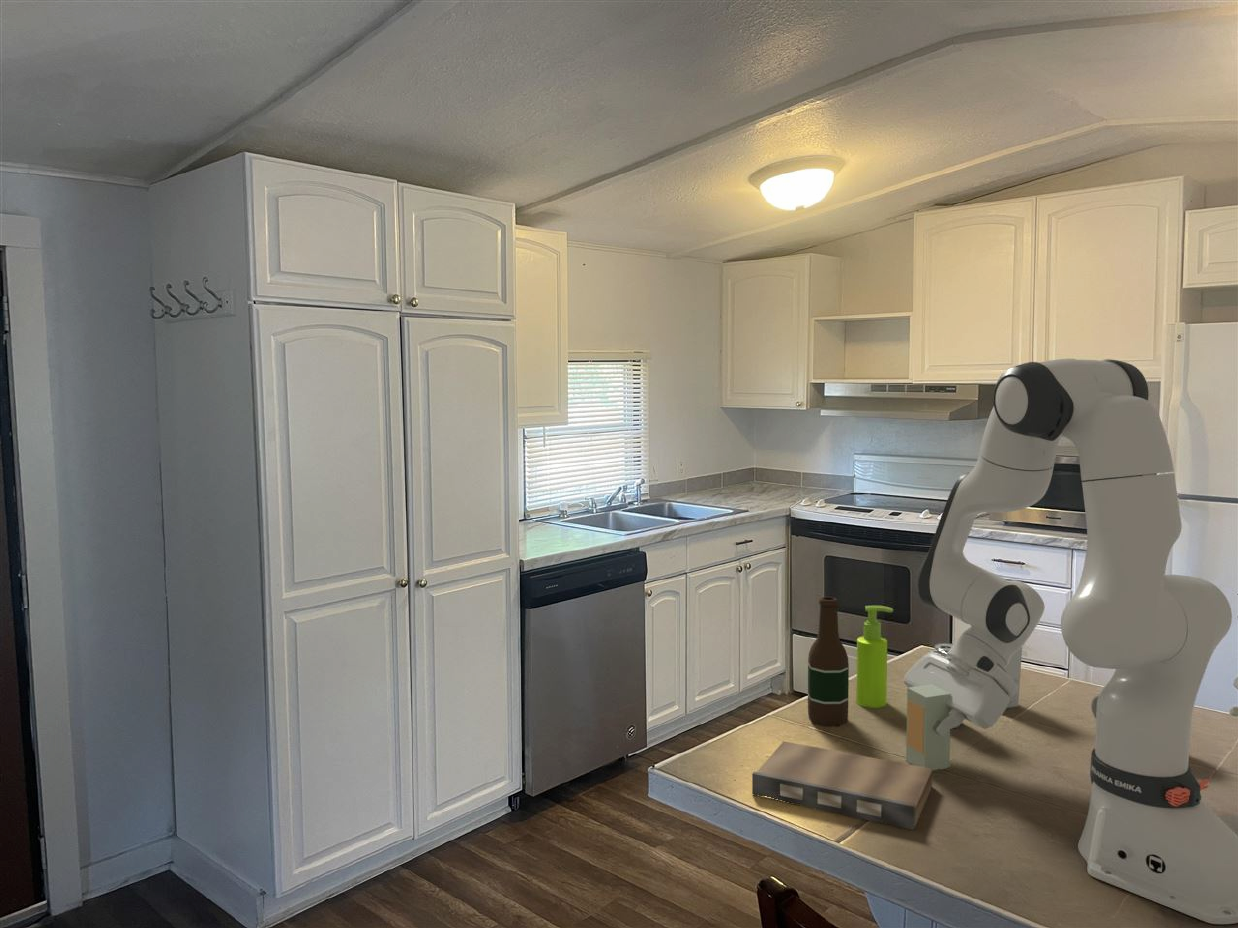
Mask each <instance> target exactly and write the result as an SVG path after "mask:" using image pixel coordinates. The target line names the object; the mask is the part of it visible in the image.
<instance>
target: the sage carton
mask: <svg viewBox="0 0 1238 928" xmlns="http://www.w3.org/2000/svg"><path fill="white" fill-rule="evenodd" d="M906 688H907V689H906V690H907V693H906V695H907V696H906V697H907V698H906V702H907V703H906V743H905V744H906V745H905V746H906V748H905V749H906V752H905V755H906V756H905V760H906V761H907V762H908V764H909V763H910V765H915V766H920V767H926V768H931V769H933V772H935V771H939V770H938V769H940V770H945V769H949V768H950V755H951V754H950V753H951V752H950V751H951V748H950V747H951V729H949V731H948V732H947V733H946V734H945V736H941V735H939V734H938V733H936V732H935V731H934V730H933V726H934V725H935V724H936V722H937V721H938V720H939V721H941V722H942V720H944V719H945V718H947V717H948V716H950V715H949V712H950V711H951V707H949V706H947V704H946V702H947V700H948V699H949V698H950V696H951V693H949V692H947V691H945V690H943V689H941V688H939V687H937V686H935V685H932V684H929V685H923V686H916V687H909V688H908V687H906ZM948 767H949V768H948ZM934 770H935V771H934Z"/></svg>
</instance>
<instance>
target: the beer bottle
mask: <svg viewBox="0 0 1238 928" xmlns="http://www.w3.org/2000/svg"><path fill="white" fill-rule="evenodd" d="M818 604H819V605H820V606H819V619H818V631H817V637H816V639H815V641H814V642H813V643H812V645H811V647H810V650H809V652H808V656H807V657H808V659H807V715H808V717H809V720H810V721H811V724H812V723H813V724H815V725H820V726H822V727H840V726H842V725H844V724H845V723H847V722H848V721H849V692H850V691H849V689H850V688H849V685H850V684H849V683H850V682H849V681H850V680H849V679H850V678H849V677H850V676H849V675H850V674H849V672H850V671H849V669H850V668H849V666H850V665H849V656H848V654H847V651H846V648H845V646H844V645H843V644H842V642H841V640H840V632H839V619H838V618H839V617H838V606H839V600H838V599H837V598H836V597H833V596H823V597H821V598H819V600H818Z"/></svg>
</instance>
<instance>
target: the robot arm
mask: <svg viewBox="0 0 1238 928" xmlns="http://www.w3.org/2000/svg"><path fill="white" fill-rule="evenodd" d="M1149 393H1150V392H1149V386H1148V382H1147V379H1146V377H1145V376H1144V374H1143V372H1141V371H1140V369H1139V368H1137V366H1134V365H1133V364H1130V363H1128V362H1125V361H1122V360H1116V359H1111V358H1110V359H1104V358H1103V359H1101V360H1099V359H1098V360H1096V359H1076V358H1062V359H1061V358H1060V359H1051V360H1045V361H1040V362H1037V361H1029V362H1025V363H1022V364H1021V363H1020V364H1018V365H1015V366H1012V367H1011V368H1009V369H1006V370H1005V371H1004V372H1003V373H1002V374H1001V375H1000V377H999V378H998V380H997V382H996V384H995V386H994V392H993V407H992V409H991V411H990V414H989V416H988V420H987V423H986V426H985V429H984V432H983V435H982V440H981V442H980V447H979V448H980V449H979V454H978V458H977V460H976V463H975V464H974V466H973V468H972V470H970V472H965V473H963V474H962V475H960V476H959V478H958V479H957V480H956V481H955V483H954V485H953V487H952V488H951V490H950V493H949V496H948V498H947V500H946V503H945V505H944V507H943V510H942V513H941V515H940V516H941V517H940V518H939V519H940V520H939V521H938V525H937V526H936V527H937V528H936V530H935V533H934V535H933V539H932V542H931V544H930V547H929V550H928V552H927V554H926V555H925V557H924V560H923V561H922V562H921V564H920V566H919V568H918V571H917V573H916V576H915V577H916V578H915V584H916V590H917V592H918V596H919V599H920V600H921V601H922V603H923V604H925V605H927V606H930V607H932V608H934V609H936V610H939V611H940V612H941V611H942V612H944V613H947V614H948V615H950V616H951V617H954V618H955V619H957V620H958V621H961V622H963V623H965V624H967V625H970V627H968V628H967V629H966V630H965V631H963V632H962V633H961V634H960V636H959V637H958V638H957V639H956V641H955V642H954V643H953V644H954V645H953V646H952V647H951V648H950V650H949V651H948V652H945V651H944V650H942V649H937V650H934V649H933V650H934V651H933V650H930V651H929V652H927V653H926V654H924V655H923V656H922V657H920V658H919V659H918V660H917V662H915V663H914V664H913V665H912V666H911V668H909V670H908V671H907V672H906V673H905V674H904V675H903V684H904V685H905V686H907V687H906V688H909V687H916V686H923V685H929V684H932V685H935V686H937V687H939V688H941V689H943V690H945V691H947V692H949V693H951V696H950V698H949V699H948V700H947V702H946V704H947V706H949V707H951V711H950V712H949V715H950V716H948V717H947V718H945V719H944V720H942V722H941V721H939V720H938V721H937V722H936V724H935V725H934V726H933V730H934V731H935V732H936V733H938V734H939V735H941V736H945V734H946V733H947V732H948V731H949V729H950V730H951V729H955V728H954V727H956V726H958V725H960V726H961V725H962V723H963V722H964V720H966V721H968V722H970V723H971V724H973V725H976V726H978V727H980V728H981V729H983V730H985V729H986V730H987V729H988V728H991V727H993V726H994V725H995V724H996V723H997V722H998V720H999V719H1000V718H1001V717H1002V715H1003V713H1004V712H1005V711H1006V709H1008V708H1007V706H1008V704H1009V701H1010V698H1009V696H1010V697H1013V696H1014V695H1016V693H1017V692H1018V691H1019V692H1020V688H1019V687H1018V686H1017V685H1016V683H1015V682H1014V681H1013V680H1012V679H1011V677H1010V676H1009V675H1008V674H1007V673H1006V671H1005V670H1004V669H1005V668H1006V667H1007V666H1008V664H1009V661H1010V658H1011V657H1012V655H1013V654H1014V653H1015V652H1016V651H1017V650H1019V649H1020V648H1021V647H1022V648H1023V646H1024V645H1025V644H1026V643H1027V641H1028V640H1029V639H1030V637H1031V636H1032V634H1033V632H1034V631H1035V629H1036V627H1037V626H1038V624H1039V622H1040V620H1041V618H1042V616H1043V613H1044V611H1045V602H1044V600H1043V598H1042V597H1041V595H1040V594H1039V593H1038V592H1037V590H1035V589H1034V588H1033V587H1032V586H1030V585H1029V584H1027V583H1025V582H1023V581H1020V580H1018V579H1017V580H1016V579H1012V580H1008V579H1006V578H1004V577H1002V576H999V575H998V574H995V573H993V572H991V571H988V570H986V569H984V568H982V567H980V566H978V565H976V564H974V563H972V562H970V561H968V559H967V558H966V557H965V555H964V549H965V545H966V543H967V541H968V538H969V535H970V532H971V530H972V527H973V525H974V522H975V519H976V517H977V516H978V515H979V514H980V513H1010V512H1017V511H1020V510H1024V509H1027V508H1029V507H1031V506H1033V505H1035V504H1036V503H1038V502H1040V500H1041V499H1043V497H1044V496H1045V495H1046V493H1047V491H1048V489H1049V486H1050V483H1051V480H1052V477H1053V471H1054V466H1055V463H1056V457H1057V451H1058V447H1059V443H1060V440H1061V438H1062V437H1064V438H1066V439H1068V440H1069V441H1071V443H1072V444H1073V445H1074V446H1075V448H1076V449H1077V454H1078V458H1079V467H1080V469H1079V470H1080V479H1081V485H1082V486H1081V487H1082V493H1083V494H1082V496H1083V502H1084V509H1085V510H1084V511H1085V520H1086V521H1085V522H1086V530H1087V533H1086V535H1087V537H1086V539H1087V540H1086V550H1085V551H1086V552H1085V558H1084V563H1083V569H1082V572H1081V576H1080V579H1079V583H1078V586H1077V588H1076V590H1075V592H1074V594H1073V596H1072V597H1071V599H1070V600H1069V601H1068V603H1066V605H1065V607H1064V609H1063V611H1062V613H1061V616H1060V617H1061V618H1060V630H1061V631H1060V632H1061V635H1062V638H1063V641H1064V643H1065V645H1066V647H1067V649H1068V650H1069V651H1070V653H1071V654H1072V655H1073V656H1074V657H1075V658H1076V659H1077V660H1079V661H1080V662H1082V663H1083V664H1085V665H1087V666H1089V667H1093V668H1099V669H1110V670H1112V669H1113V670H1115V671H1114V673H1113V675H1112V676H1111V678H1110V680H1109V681H1108V682H1107V683H1106V685H1104V686H1103V688H1102V690H1101V691H1100V692H1099V694H1100V695H1099V697H1098V700H1097V712H1096V718H1095V737H1094V738H1095V739H1094V744H1095V745H1094V748H1093V749H1092V751H1091V754H1090V755H1091V756H1090V757H1091V758H1090V771H1089V772H1090V773H1089V775H1090V782H1091V787H1092V788H1091V794H1090V801H1089V802H1090V803H1089V807H1088V812H1087V816H1086V820H1085V824H1084V827H1083V830H1082V833H1081V835H1080V838H1079V841H1078V843H1077V849H1078V852H1079V853H1080V854H1079V855H1081V856H1082V858H1083V859H1084V860H1085V861H1086V864H1087V865H1086V866H1087V867H1086V868H1087V869H1086V870H1087V873H1088V875H1090V876H1091V877H1093V878H1095V879H1097V880H1100V881H1102V882H1105V883H1107V884H1109V885H1112V886H1114V887H1117V888H1120V889H1123V890H1125V891H1127V892H1130V893H1132V894H1135V895H1137V896H1140V897H1143V898H1145V899H1147V900H1150V901H1152V902H1154V903H1158V904H1160V905H1163V906H1165V907H1168V908H1170V909H1173V910H1175V911H1178V912H1180V913H1182V914H1185V915H1186V916H1187V915H1188V916H1189V917H1192V918H1194V919H1197V920H1200V921H1203V922H1205V923H1208V924H1211V925H1213V924H1214V925H1230V924H1231V925H1232V924H1237V923H1238V835H1237V834H1236V833H1235V832H1234V831H1233V830H1232V829H1231V828H1230V827H1229V826H1228V825H1227V824H1225V822H1224V821H1223V820H1222V819H1221V818H1220V817H1219V816H1218V815H1217V814H1216V813H1215V812H1214V811H1213V810H1212V809H1211V808H1210V807H1209V806H1208V805H1207V804H1206V802H1205V801H1204V800H1203V799H1202V794H1201V791H1203V790H1206V789H1208V788H1209V785H1208V783H1209V781H1210V780H1209V779H1207V778H1205V779H1203V780H1201V781H1197V779H1196V777H1195V775H1194V772H1193V770H1192V767H1191V766H1190V764H1189V757H1190V745H1191V744H1190V742H1191V730H1192V728H1191V727H1192V718H1193V712H1194V706H1195V704H1196V699H1197V696H1198V693H1199V690H1200V687H1201V684H1202V681H1203V678H1204V676H1205V673H1206V671H1207V668H1208V665H1209V663H1210V660H1211V659H1212V655H1213V653H1214V651H1215V650H1216V648H1217V646H1218V645H1219V644H1220V642H1221V641H1222V640H1223V638H1225V637H1226V635H1227V634H1228V633H1229V630H1230V629H1231V626H1232V620H1233V616H1232V615H1233V614H1232V608H1231V604H1230V602H1229V600H1228V599H1227V596H1226V595H1225V594H1224V592H1223V591H1222V590H1221V589H1220V588H1219V587H1218V586H1216V584H1214V583H1212V582H1210V581H1208V580H1206V579H1204V578H1201V577H1196V576H1189V575H1182V574H1181V575H1180V574H1166V569H1167V564H1168V559H1169V556H1170V553H1171V550H1172V549H1173V546H1174V544H1175V543H1176V542H1177V541H1178V539H1179V538H1180V535H1181V533H1182V527H1183V526H1182V519H1181V518H1182V517H1181V512H1180V506H1179V505H1180V503H1179V497H1178V492H1177V491H1178V489H1177V484H1176V476H1175V473H1174V472H1175V470H1174V463H1173V458H1172V454H1171V449H1170V445H1169V441H1168V437H1167V434H1166V430H1165V428H1164V425H1163V423H1162V419H1161V417H1160V415H1159V412H1158V410H1157V408H1156V407H1155V405H1154V404H1153V403H1151V402H1150V401H1149V395H1150V394H1149ZM935 652H936V653H935Z"/></svg>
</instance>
